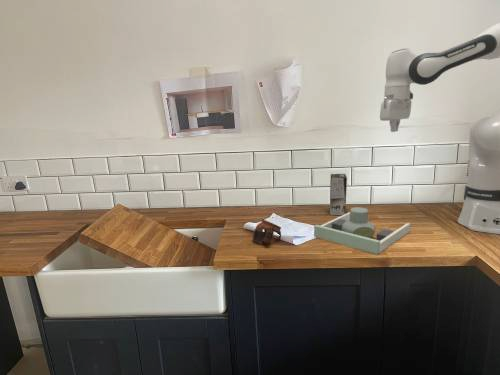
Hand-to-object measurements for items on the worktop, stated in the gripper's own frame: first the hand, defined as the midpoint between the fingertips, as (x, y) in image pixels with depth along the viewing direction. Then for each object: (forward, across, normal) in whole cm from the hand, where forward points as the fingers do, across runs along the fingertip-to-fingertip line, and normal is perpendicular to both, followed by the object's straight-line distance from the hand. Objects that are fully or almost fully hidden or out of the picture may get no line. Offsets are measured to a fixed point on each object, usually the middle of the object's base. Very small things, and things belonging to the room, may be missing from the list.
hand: (394, 131), depth 134 cm
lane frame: (+34, -27, -2) cm, 43 cm away
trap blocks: (+34, -27, -2) cm, 43 cm away
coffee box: (+34, -10, +18) cm, 40 cm away
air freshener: (+34, -30, -2) cm, 46 cm away
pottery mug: (+34, -54, +19) cm, 67 cm away
